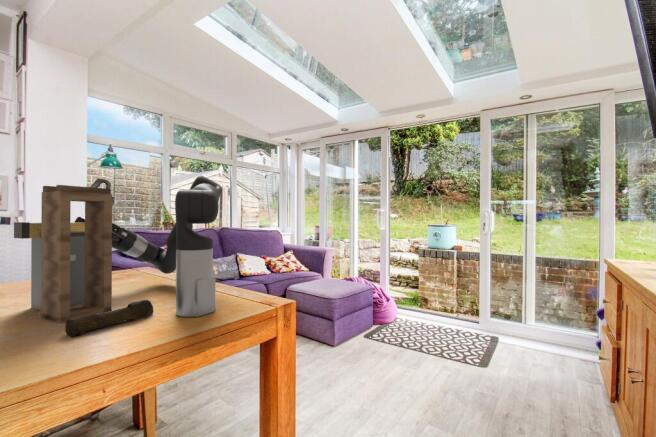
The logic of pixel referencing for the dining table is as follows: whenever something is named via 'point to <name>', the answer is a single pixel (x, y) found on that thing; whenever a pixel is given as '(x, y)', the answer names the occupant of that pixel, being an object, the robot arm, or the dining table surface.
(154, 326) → the dining table surface
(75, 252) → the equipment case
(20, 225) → the rod
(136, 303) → the hand tool
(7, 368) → the dining table surface
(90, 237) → the brown tall rectangular frame
